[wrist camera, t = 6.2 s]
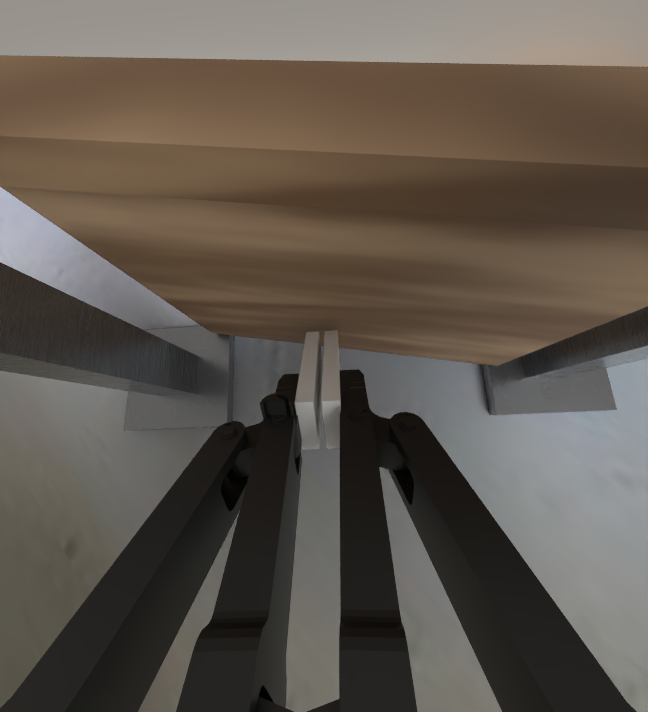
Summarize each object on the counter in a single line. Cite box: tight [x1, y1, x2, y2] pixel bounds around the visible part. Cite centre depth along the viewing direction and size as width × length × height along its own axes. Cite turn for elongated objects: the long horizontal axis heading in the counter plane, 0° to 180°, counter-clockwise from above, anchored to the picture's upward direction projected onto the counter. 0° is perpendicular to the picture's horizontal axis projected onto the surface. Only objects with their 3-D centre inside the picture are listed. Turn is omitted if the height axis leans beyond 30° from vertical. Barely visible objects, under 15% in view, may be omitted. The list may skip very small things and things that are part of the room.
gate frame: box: [0, 263, 648, 430], centre depth 14 cm, size 8×36×20 cm, turn 92°
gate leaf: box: [0, 56, 648, 366], centre depth 14 cm, size 3×22×17 cm, turn 82°
